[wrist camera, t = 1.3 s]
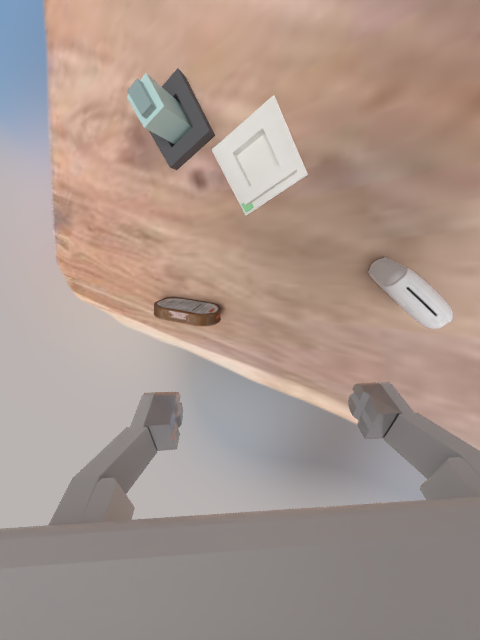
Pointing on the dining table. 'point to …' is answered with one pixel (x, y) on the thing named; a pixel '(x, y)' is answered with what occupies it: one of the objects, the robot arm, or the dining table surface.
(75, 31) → the dining table surface
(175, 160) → the holster
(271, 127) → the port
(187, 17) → the dining table surface
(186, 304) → the tin
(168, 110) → the plug
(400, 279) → the photo printer
